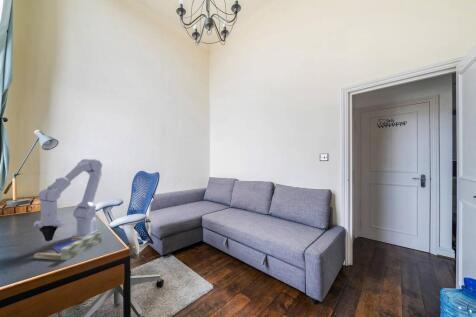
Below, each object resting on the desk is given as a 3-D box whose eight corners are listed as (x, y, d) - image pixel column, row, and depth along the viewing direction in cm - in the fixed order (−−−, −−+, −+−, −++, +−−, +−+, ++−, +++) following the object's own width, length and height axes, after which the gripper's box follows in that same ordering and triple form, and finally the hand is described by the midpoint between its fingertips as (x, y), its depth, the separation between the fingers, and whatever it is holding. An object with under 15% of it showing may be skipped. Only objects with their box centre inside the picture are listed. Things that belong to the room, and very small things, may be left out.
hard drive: (83, 245, 96) (73, 239, 103) (62, 252, 89) (53, 245, 96) (83, 249, 96) (73, 242, 103) (61, 255, 89) (53, 248, 96)
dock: (74, 239, 105) (74, 230, 105) (101, 241, 104) (101, 232, 104) (34, 258, 86) (34, 246, 86) (67, 260, 85) (67, 248, 85)
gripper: (26, 215, 92) (26, 243, 93) (54, 216, 91) (54, 245, 91) (42, 211, 99) (42, 237, 100) (68, 212, 98) (68, 238, 98)
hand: (49, 240), depth 96 cm, fingers closed
